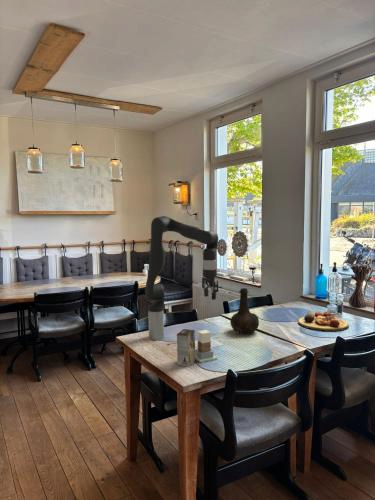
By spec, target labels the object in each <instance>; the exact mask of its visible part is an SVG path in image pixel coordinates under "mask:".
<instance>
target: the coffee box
mask: <svg viewBox="0 0 375 500" xmlns="http://www.w3.org/2000/svg"><path fill="white" fill-rule="evenodd" d="M195 331H196V330H195V329H186V328H183V329H181V330H180V331H179V332H178V333H177V334H176V350H177V353H176V354H177V365H178V366H183V367H190V366H191V365H192V364H193V363H194V362H195V361H196V359H195V349H196V341H195V340H196V334H195V333H196V332H195Z"/></svg>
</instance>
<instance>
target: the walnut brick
mask: <svg viewBox="0 0 375 500" xmlns="http://www.w3.org/2000/svg"><path fill="white" fill-rule="evenodd" d="M211 342H212V341H211ZM211 342H207V343H201V342H199V341H198V340H197V349H198V350H199V351H200V352H202V353H204V352H209V351H211V350H212V349H211V347H212V346H211Z"/></svg>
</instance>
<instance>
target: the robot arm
mask: <svg viewBox="0 0 375 500" xmlns="http://www.w3.org/2000/svg"><path fill="white" fill-rule="evenodd" d="M167 232H172V233H173V232H174V233H178V234H180V236H182V237H184V238H186V239H189V240H192V241H197V242H199V244H204V245H206V246H205V248H204V249H203V251H202V253H203V254H202V278H201V288H202V289H203V296H204V297H209V289H210V291H211V300H212V301H214V300H216V299H217V293H218V292H219V281H218V280H216V278H217V276H218V264H217V249H218V244H219V235H218V233H217V232H216V230H204V229H201V228H200V227H197V226H193V225H189V224H186V223H184V222H180V221H177V220H175V219H173V218H171V217H169V216H167V215H165V216H164V215H162V216H157V217H154V218H153V219H152V220H151V224H150V248H149V249H150V250H149V258H148V259H149V260H148V271H147V278H146V283H145V288H144V289H145V290H144V294H145V299H146V300H147V301H153V300H154V301H153V302H152V303H150V304H149V305H148V307H147V311H148V339H149V340H152V341H161V340H163V339H165V319H164V315H165V313H164V307H165V287H164V285H163V284H162V283H155V282H156V280H157V278H158V276H159V275H160V274H161V272H162V271H163V269H164V266H165V262H166V252H165V247H164V246H163V237H164V236H163V235H164V233H167Z"/></svg>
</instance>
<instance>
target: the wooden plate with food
mask: <svg viewBox="0 0 375 500" xmlns="http://www.w3.org/2000/svg"><path fill="white" fill-rule="evenodd" d="M297 322H298V324H299V325H300V326H301V327H303V326H304V327H303V328H306V327H307V328H306V329H309V328H311V329H310V330H314V329H315V331H322V330H324V332H325V331H326V332H334V331H335V332H336V331H337V332H339V331H343V330H346V329H348V328H349V323H348V322H347V321H346V320H344V319H341V318H338V317H335V316H334V315H332V314H331V312H328V311H325V312H320V311H317V312H314V313H313V312H312V311H309V312H307V313H306V315H305V316H303V317H300V318H299V319H298V321H297Z"/></svg>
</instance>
